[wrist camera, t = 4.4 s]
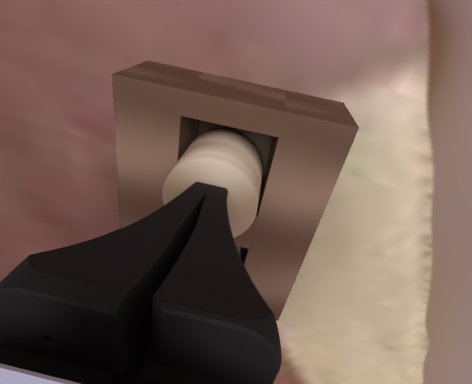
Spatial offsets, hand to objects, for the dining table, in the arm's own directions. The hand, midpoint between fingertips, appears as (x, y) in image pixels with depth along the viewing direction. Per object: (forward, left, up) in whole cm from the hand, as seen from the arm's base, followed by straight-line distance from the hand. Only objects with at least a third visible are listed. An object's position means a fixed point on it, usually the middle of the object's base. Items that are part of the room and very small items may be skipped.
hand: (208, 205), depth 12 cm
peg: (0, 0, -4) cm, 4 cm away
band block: (-4, 0, -7) cm, 8 cm away
